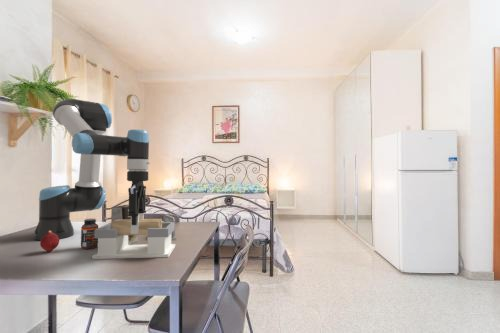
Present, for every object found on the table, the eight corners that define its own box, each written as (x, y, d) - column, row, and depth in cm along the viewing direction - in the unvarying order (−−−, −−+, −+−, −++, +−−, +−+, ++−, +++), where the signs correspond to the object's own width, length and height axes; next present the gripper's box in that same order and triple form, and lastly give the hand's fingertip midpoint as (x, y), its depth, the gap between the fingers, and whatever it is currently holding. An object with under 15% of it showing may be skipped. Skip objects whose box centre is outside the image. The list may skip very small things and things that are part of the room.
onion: (62, 250, 105) (63, 229, 105) (47, 254, 100) (47, 233, 100) (52, 249, 107) (52, 228, 107) (36, 253, 102) (36, 231, 102)
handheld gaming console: (146, 237, 127) (146, 215, 127) (165, 234, 133) (166, 213, 133) (155, 243, 117) (155, 219, 117) (176, 240, 122) (176, 217, 122)
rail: (116, 232, 105) (116, 219, 105) (161, 231, 107) (161, 218, 107) (111, 235, 100) (111, 221, 100) (158, 234, 102) (158, 221, 102)
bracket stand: (109, 247, 109) (109, 222, 109) (175, 246, 112) (175, 221, 112) (92, 259, 95) (92, 230, 95) (168, 257, 98) (168, 229, 98)
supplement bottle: (85, 250, 105) (86, 221, 105) (77, 248, 108) (78, 219, 109) (101, 246, 110) (101, 218, 111) (93, 244, 114) (93, 217, 114)
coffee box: (124, 247, 110) (124, 207, 110) (110, 246, 111) (110, 206, 111) (137, 241, 119) (138, 204, 119) (124, 240, 120) (124, 204, 120)
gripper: (140, 170, 95) (140, 237, 95) (154, 170, 113) (153, 226, 113) (118, 170, 95) (117, 237, 94) (135, 170, 112) (134, 227, 112)
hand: (137, 231), depth 104 cm, fingers closed on rail, 5 cm apart
